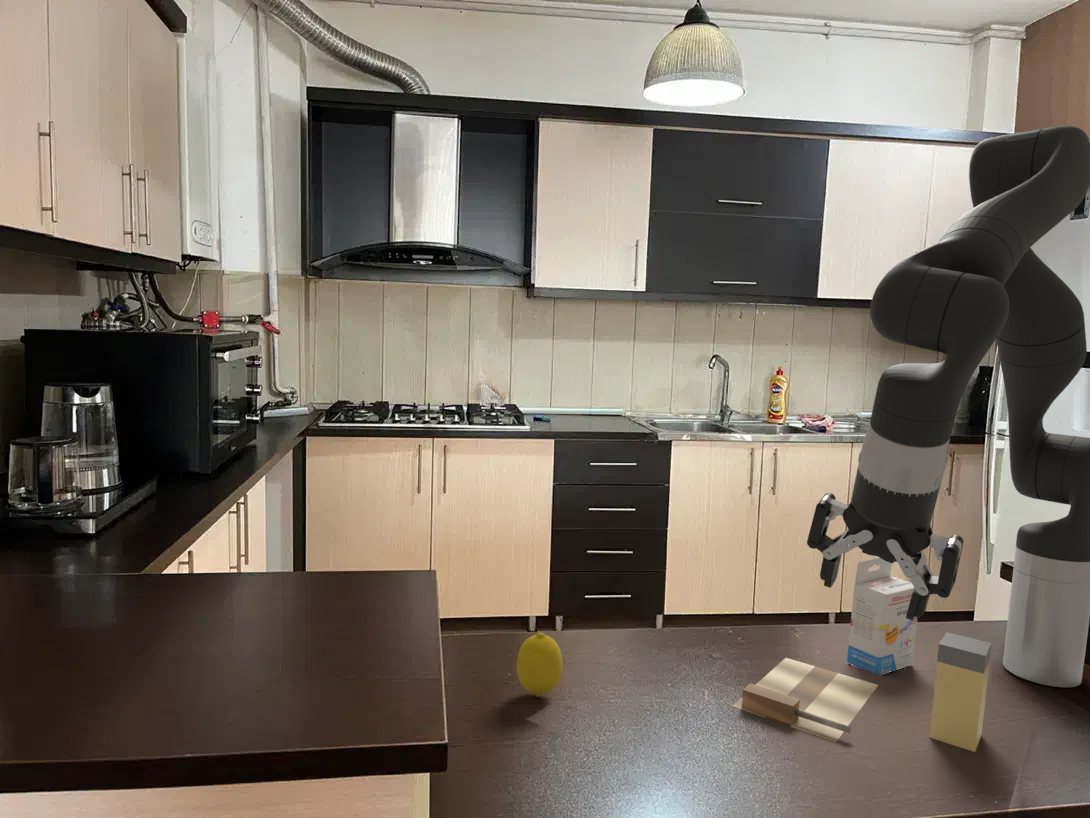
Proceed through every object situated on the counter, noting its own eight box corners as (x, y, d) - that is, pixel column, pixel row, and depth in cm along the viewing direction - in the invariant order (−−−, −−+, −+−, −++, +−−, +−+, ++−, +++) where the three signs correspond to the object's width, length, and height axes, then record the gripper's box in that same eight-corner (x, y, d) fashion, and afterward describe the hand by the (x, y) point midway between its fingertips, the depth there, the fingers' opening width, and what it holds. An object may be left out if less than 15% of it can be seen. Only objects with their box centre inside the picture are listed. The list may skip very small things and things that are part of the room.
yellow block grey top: (936, 731, 89) (946, 632, 88) (980, 745, 87) (991, 643, 85) (928, 747, 86) (939, 643, 84) (974, 762, 83) (985, 655, 82)
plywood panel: (785, 666, 105) (785, 657, 105) (877, 693, 98) (878, 685, 98) (731, 715, 91) (732, 705, 91) (835, 752, 84) (836, 742, 84)
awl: (748, 700, 92) (750, 683, 92) (852, 735, 85) (854, 717, 85) (741, 707, 90) (742, 689, 90) (846, 743, 83) (848, 724, 83)
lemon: (567, 692, 95) (570, 629, 94) (549, 711, 90) (552, 646, 89) (527, 681, 97) (530, 621, 96) (507, 700, 92) (510, 636, 91)
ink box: (878, 679, 102) (888, 572, 101) (845, 664, 107) (854, 561, 105) (914, 666, 107) (924, 563, 106) (881, 652, 111) (891, 553, 110)
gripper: (988, 476, 74) (949, 606, 81) (839, 433, 81) (816, 555, 89) (971, 513, 68) (931, 649, 76) (813, 463, 76) (791, 590, 84)
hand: (869, 598), depth 82 cm, fingers open, 8 cm apart
